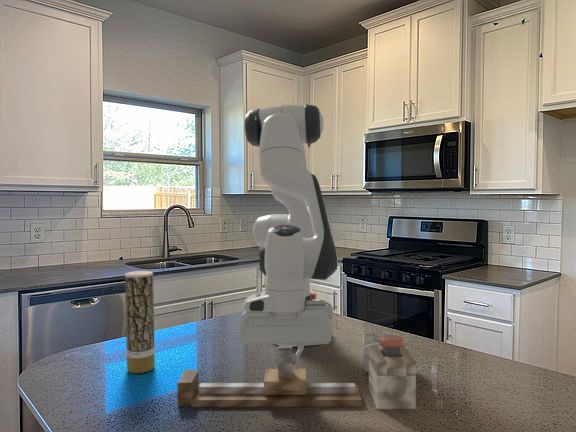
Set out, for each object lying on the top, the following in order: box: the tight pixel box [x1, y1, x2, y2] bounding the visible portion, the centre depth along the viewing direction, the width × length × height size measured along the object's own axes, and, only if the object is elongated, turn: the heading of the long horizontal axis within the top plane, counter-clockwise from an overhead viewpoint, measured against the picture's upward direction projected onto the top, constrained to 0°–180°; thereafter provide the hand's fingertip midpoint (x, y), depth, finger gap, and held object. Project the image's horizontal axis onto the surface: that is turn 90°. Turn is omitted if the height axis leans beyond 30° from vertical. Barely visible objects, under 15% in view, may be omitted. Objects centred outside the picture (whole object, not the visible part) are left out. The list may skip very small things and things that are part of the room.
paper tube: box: [124, 270, 156, 374], centre depth 114 cm, size 7×7×25 cm
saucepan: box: [361, 332, 410, 374], centre depth 117 cm, size 12×20×6 cm, turn 1°
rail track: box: [176, 345, 417, 410], centre depth 98 cm, size 50×10×10 cm, turn 89°
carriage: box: [263, 345, 307, 395], centre depth 98 cm, size 9×7×9 cm
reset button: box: [378, 334, 405, 357], centre depth 97 cm, size 5×5×4 cm
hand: (285, 362), depth 98 cm, fingers closed on carriage, 3 cm apart
